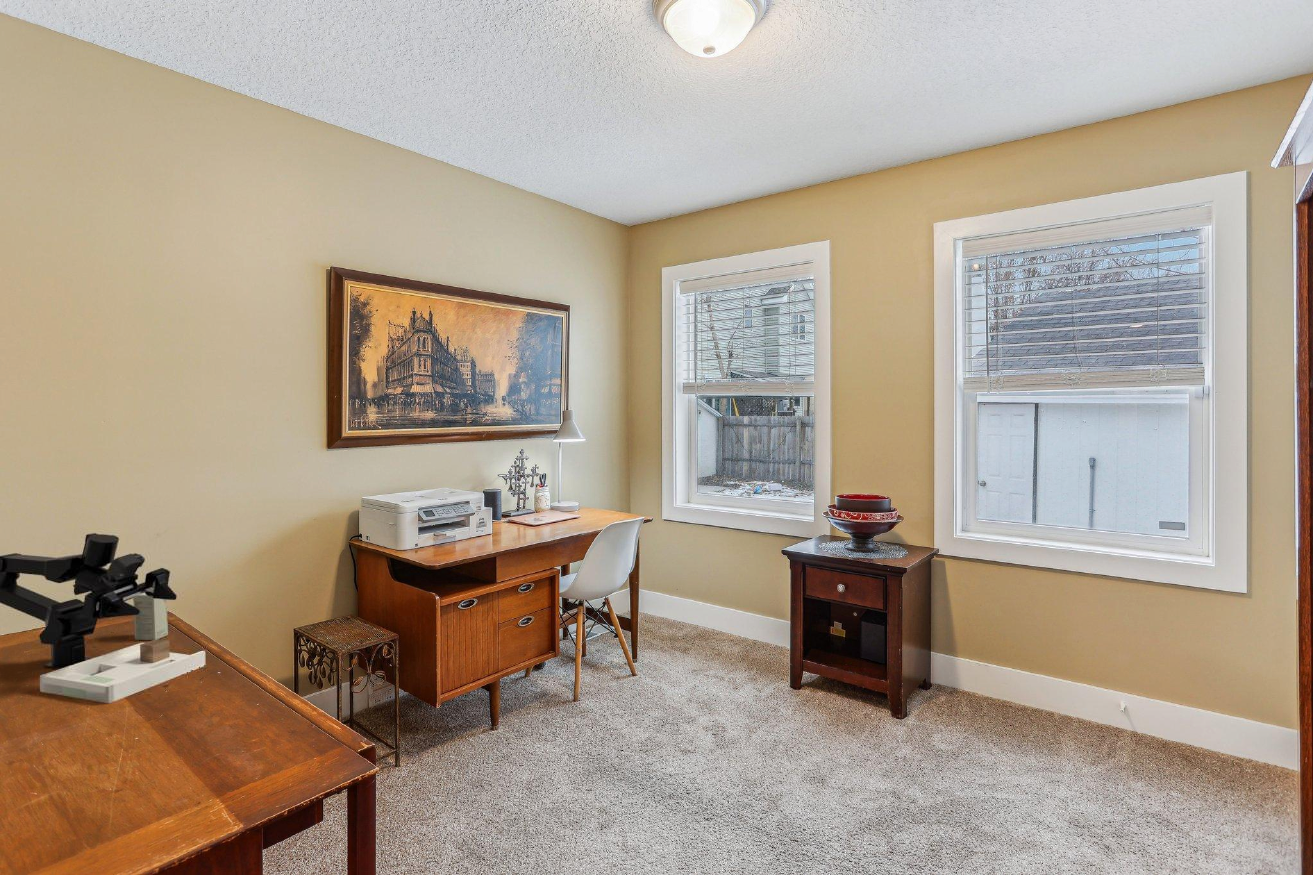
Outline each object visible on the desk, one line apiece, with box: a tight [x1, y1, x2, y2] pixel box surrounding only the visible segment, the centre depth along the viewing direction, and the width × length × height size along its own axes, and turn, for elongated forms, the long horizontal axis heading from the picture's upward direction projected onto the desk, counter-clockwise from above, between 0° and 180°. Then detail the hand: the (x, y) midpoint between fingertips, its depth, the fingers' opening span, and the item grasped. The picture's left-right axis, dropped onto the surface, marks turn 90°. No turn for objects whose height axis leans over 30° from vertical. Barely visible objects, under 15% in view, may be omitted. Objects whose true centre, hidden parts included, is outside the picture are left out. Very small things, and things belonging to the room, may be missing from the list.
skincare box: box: [132, 593, 169, 641], centre depth 179 cm, size 6×4×12 cm
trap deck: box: [39, 642, 206, 704], centre depth 152 cm, size 20×22×4 cm
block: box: [140, 638, 171, 663], centre depth 158 cm, size 4×4×4 cm
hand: (158, 604), depth 155 cm, fingers open, 9 cm apart
